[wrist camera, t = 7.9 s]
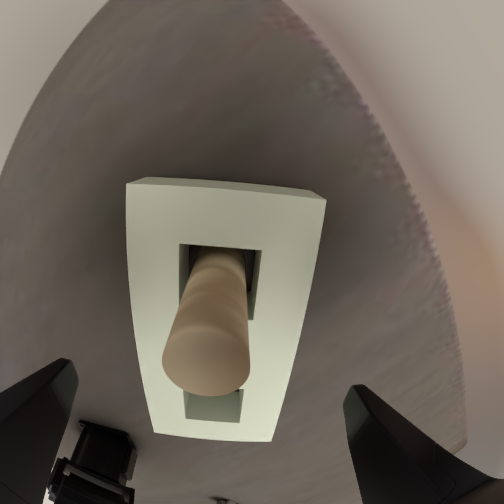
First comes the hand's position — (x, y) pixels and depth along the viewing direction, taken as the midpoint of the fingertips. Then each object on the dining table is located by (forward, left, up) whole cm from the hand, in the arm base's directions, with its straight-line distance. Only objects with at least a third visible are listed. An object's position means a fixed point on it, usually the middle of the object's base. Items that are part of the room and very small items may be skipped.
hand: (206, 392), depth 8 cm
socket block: (0, -5, -11) cm, 12 cm away
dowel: (0, 0, -11) cm, 11 cm away
